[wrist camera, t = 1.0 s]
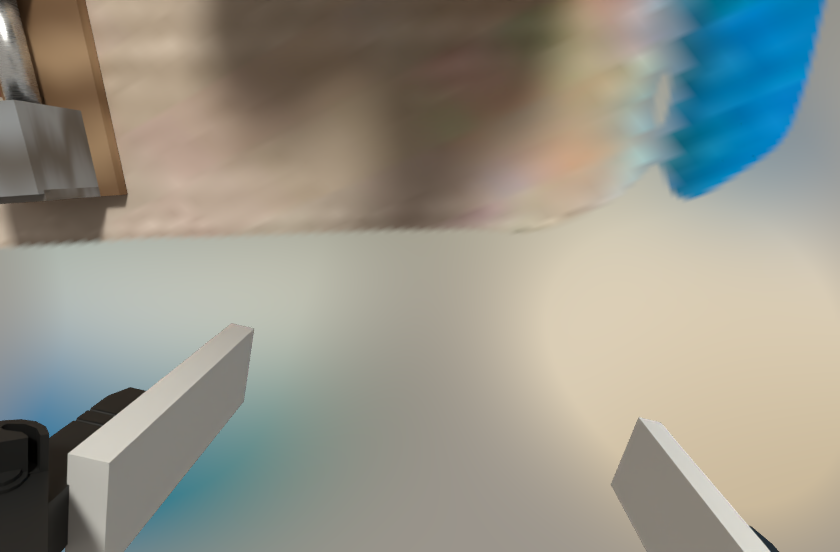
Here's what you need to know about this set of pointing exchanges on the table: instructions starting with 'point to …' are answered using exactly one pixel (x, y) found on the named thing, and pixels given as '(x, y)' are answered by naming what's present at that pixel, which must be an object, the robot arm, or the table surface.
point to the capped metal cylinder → (15, 57)
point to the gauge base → (73, 76)
